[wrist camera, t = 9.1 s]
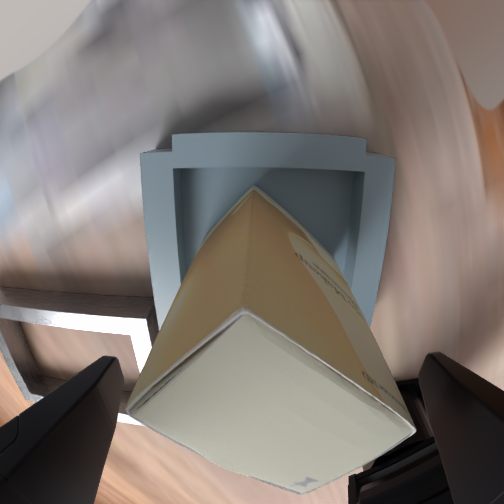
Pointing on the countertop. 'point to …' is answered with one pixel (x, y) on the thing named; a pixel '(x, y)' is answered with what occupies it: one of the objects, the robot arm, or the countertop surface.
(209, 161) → the slate tray
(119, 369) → the robot arm
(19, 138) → the countertop surface
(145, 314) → the metal collar
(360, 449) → the skincare box
